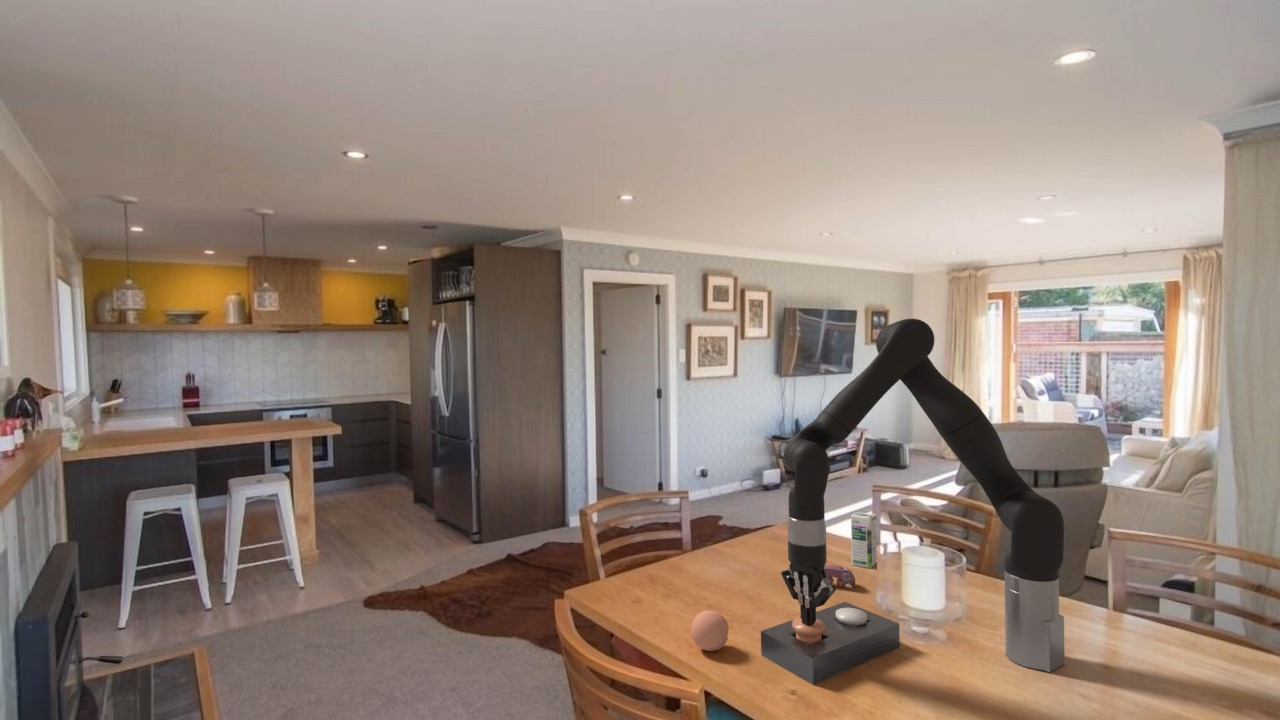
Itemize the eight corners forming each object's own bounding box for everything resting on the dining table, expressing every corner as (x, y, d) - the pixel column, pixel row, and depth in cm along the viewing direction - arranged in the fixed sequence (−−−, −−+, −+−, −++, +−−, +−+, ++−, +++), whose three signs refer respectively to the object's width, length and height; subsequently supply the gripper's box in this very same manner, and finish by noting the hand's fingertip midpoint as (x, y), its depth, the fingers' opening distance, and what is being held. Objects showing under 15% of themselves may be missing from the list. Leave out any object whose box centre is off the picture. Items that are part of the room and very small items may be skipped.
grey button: (874, 641, 133) (873, 615, 133) (854, 649, 129) (853, 623, 129) (849, 630, 138) (849, 605, 138) (829, 638, 135) (829, 612, 135)
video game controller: (816, 589, 168) (813, 569, 165) (819, 576, 172) (816, 557, 169) (854, 595, 163) (852, 575, 160) (856, 582, 167) (854, 562, 164)
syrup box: (851, 565, 181) (850, 515, 181) (857, 559, 186) (856, 510, 186) (871, 569, 178) (870, 518, 178) (877, 563, 183) (876, 513, 182)
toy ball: (735, 646, 133) (734, 609, 133) (719, 661, 127) (718, 623, 127) (701, 637, 138) (700, 601, 138) (684, 652, 131) (683, 615, 131)
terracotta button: (832, 653, 126) (831, 625, 126) (810, 662, 122) (809, 633, 122) (808, 641, 131) (807, 614, 131) (786, 649, 128) (785, 622, 128)
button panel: (899, 647, 131) (899, 623, 131) (813, 684, 118) (812, 658, 117) (845, 623, 143) (845, 601, 143) (761, 655, 129) (760, 631, 129)
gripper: (845, 543, 123) (847, 631, 123) (795, 528, 134) (797, 608, 134) (819, 550, 119) (820, 641, 119) (770, 534, 130) (771, 617, 130)
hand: (808, 623), depth 127 cm, fingers closed
